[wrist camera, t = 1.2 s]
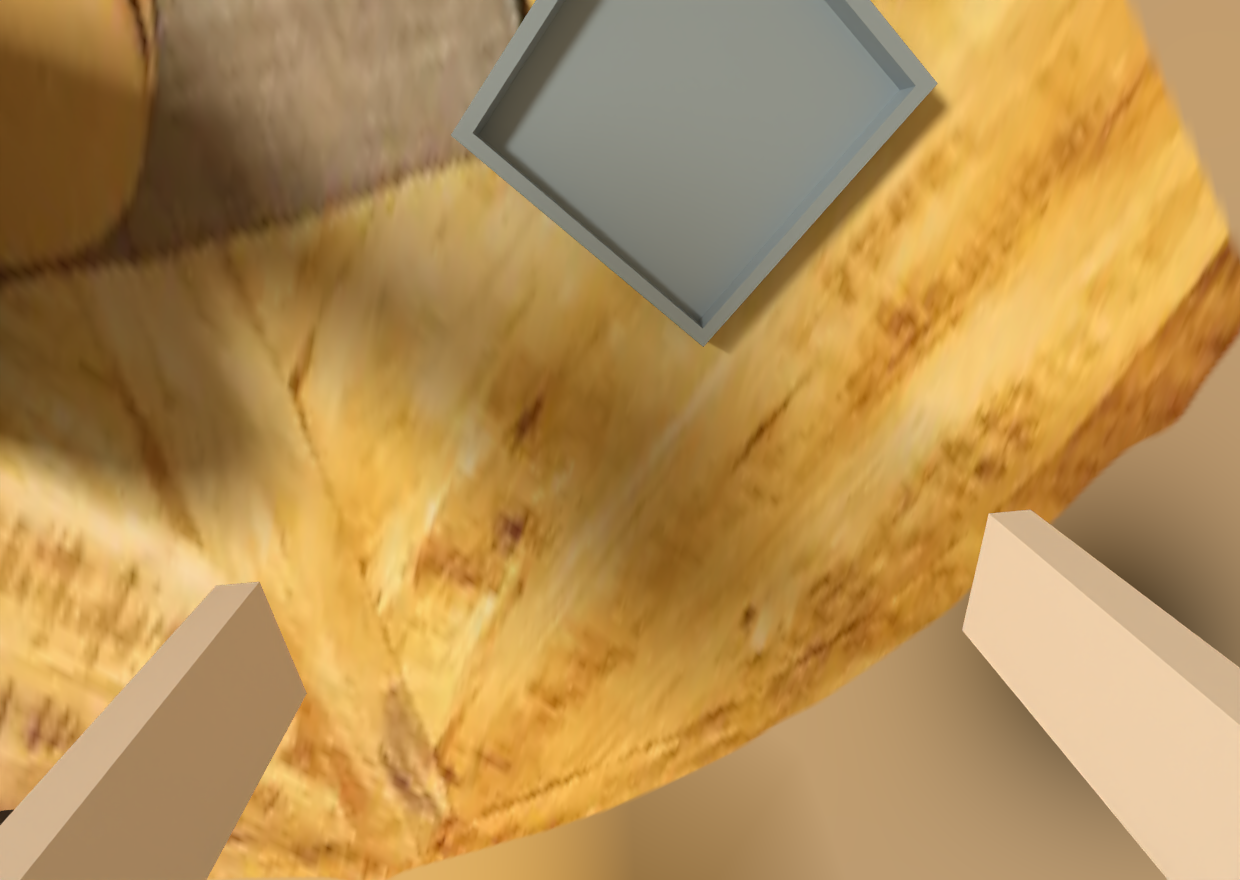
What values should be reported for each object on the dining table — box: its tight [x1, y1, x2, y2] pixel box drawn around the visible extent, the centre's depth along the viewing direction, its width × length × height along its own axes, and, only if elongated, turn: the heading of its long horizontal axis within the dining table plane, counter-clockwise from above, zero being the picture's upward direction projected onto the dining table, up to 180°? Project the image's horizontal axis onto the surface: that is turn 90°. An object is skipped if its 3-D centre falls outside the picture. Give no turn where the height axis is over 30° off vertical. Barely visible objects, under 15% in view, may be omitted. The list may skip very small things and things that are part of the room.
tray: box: [451, 0, 937, 347], centre depth 31 cm, size 18×18×2 cm
